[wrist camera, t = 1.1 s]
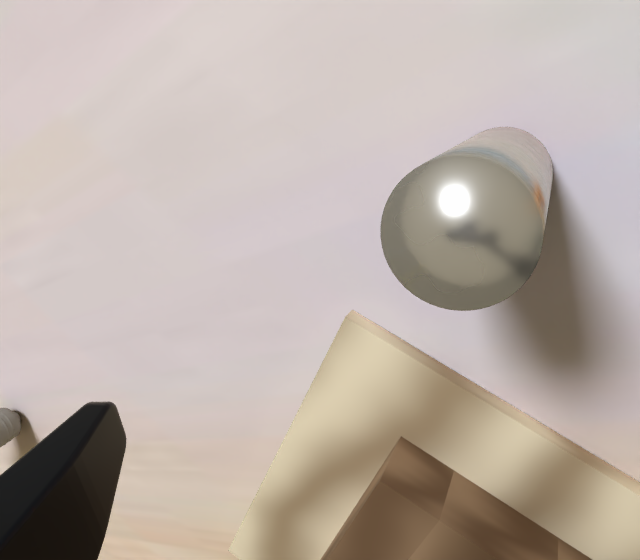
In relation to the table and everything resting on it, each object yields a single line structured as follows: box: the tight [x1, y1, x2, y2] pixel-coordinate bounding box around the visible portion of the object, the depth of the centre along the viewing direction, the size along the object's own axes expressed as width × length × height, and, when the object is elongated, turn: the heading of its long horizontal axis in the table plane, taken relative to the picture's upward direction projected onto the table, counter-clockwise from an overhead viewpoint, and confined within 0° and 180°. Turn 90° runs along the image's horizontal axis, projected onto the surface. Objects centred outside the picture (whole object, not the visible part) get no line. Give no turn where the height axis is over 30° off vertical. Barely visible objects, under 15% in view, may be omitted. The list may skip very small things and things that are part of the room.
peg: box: [381, 127, 553, 311], centre depth 18 cm, size 4×4×10 cm
